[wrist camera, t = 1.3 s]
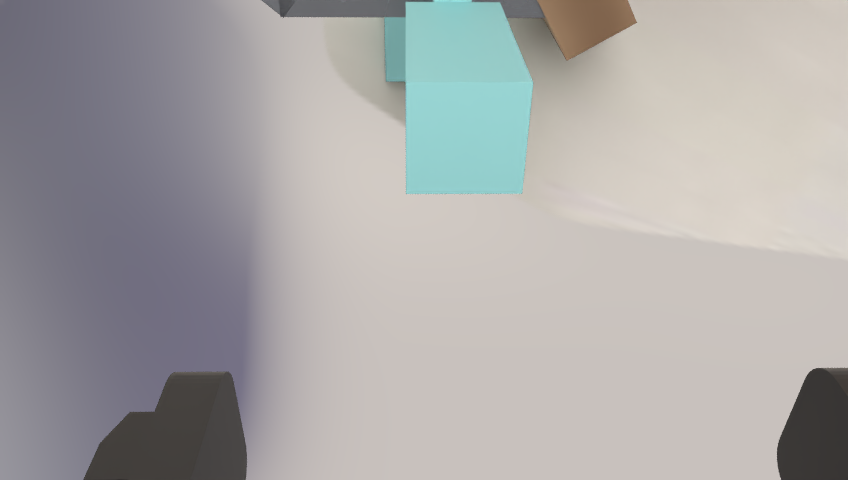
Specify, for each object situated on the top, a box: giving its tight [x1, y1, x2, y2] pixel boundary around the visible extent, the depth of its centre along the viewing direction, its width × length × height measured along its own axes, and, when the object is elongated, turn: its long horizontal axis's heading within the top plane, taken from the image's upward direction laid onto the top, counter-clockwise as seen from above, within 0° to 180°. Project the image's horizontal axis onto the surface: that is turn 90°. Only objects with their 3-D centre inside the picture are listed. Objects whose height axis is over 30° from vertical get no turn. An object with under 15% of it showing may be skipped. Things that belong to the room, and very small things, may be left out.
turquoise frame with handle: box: [385, 0, 533, 194], centre depth 25 cm, size 5×10×18 cm, turn 179°
